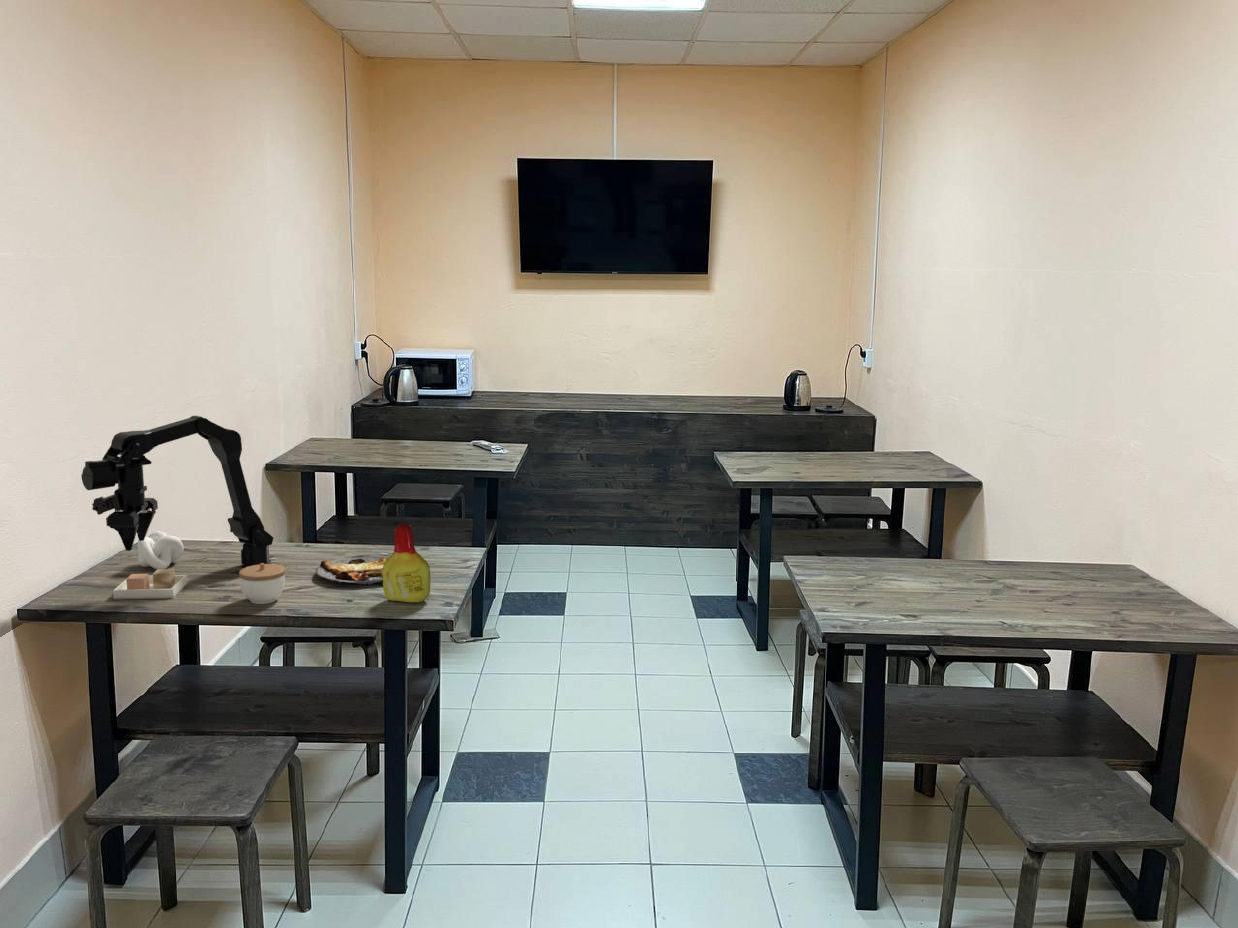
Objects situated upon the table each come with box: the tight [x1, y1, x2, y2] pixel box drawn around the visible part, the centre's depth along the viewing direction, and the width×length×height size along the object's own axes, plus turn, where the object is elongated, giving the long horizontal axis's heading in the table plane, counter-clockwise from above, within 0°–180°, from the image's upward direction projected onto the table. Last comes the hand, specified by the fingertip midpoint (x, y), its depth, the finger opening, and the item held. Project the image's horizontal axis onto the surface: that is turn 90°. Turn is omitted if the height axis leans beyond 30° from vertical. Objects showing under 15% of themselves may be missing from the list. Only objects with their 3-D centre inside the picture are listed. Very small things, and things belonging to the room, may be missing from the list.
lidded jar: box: [238, 563, 286, 605], centre depth 239 cm, size 11×11×9 cm
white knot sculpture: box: [137, 530, 184, 570], centre depth 263 cm, size 11×12×9 cm
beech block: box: [152, 568, 176, 589], centre depth 246 cm, size 4×4×4 cm
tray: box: [112, 574, 189, 600], centre depth 244 cm, size 14×12×2 cm
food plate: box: [315, 554, 391, 586], centre depth 262 cm, size 25×23×4 cm
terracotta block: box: [125, 573, 150, 590], centre depth 241 cm, size 4×4×4 cm
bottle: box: [381, 523, 431, 603], centre depth 240 cm, size 12×6×20 cm, turn 83°
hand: (135, 545), depth 239 cm, fingers open, 9 cm apart
